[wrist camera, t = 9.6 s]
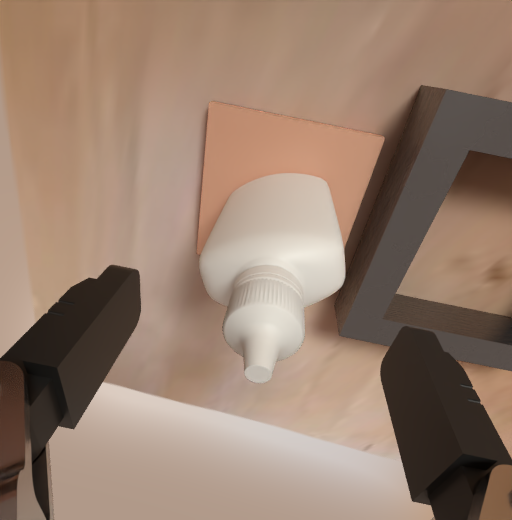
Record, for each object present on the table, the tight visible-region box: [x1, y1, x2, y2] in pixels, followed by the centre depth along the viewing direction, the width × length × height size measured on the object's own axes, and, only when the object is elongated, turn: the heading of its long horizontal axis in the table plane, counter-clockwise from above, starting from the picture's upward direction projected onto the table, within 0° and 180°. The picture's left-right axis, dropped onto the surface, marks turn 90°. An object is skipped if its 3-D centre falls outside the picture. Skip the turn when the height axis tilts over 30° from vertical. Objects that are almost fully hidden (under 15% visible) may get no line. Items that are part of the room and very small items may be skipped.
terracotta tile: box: [197, 101, 385, 254], centre depth 19 cm, size 9×9×1 cm
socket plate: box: [334, 85, 512, 371], centre depth 18 cm, size 14×14×3 cm
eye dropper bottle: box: [199, 173, 345, 383], centre depth 13 cm, size 4×6×12 cm
